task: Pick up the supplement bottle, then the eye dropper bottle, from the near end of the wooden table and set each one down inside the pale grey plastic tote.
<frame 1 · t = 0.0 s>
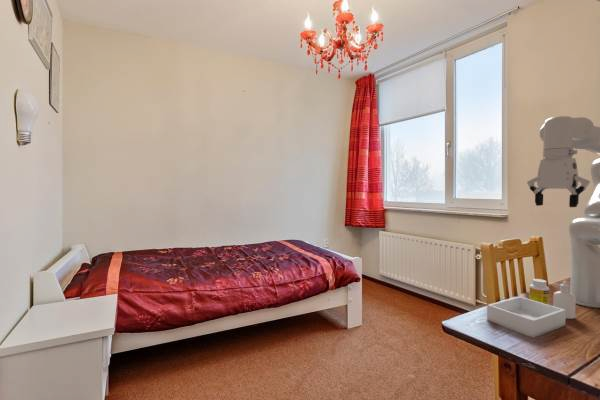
hand: (555, 206, 106), 37 cm above the table, tool pointing down, fingers open, 9 cm apart
tote: (525, 322, 101), on the table
supplement bottle: (538, 309, 112), on the table
eye dropper bottle: (563, 317, 106), on the table
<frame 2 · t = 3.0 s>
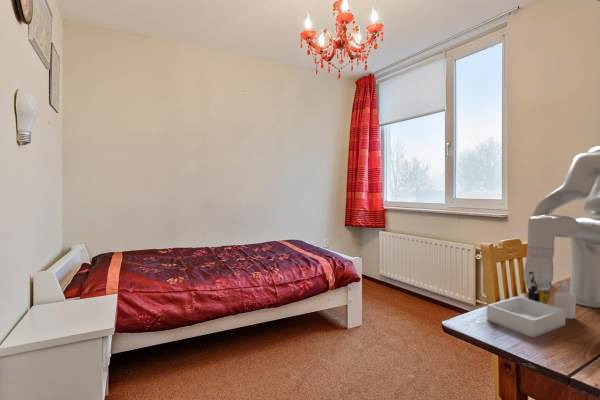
hand: (538, 301, 112), 3 cm above the table, tool pointing down, fingers closed on supplement bottle, 5 cm apart
supplement bottle: (538, 309, 112), on the table, touching gripper
everything else where it was.
when the fingers open (5 cm above the table, at t = 9.4 s): supplement bottle drops 2 cm, resting on tote.
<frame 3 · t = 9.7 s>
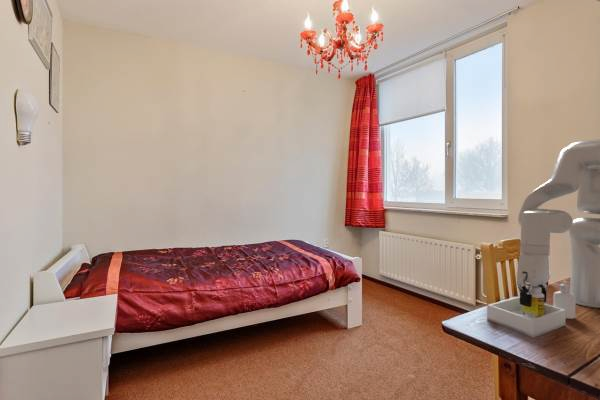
hand: (533, 303, 102), 6 cm above the table, tool pointing down, fingers open, 7 cm apart
supplement bottle: (532, 318, 103), point 1 cm above the table, touching tote
everything else where it was.
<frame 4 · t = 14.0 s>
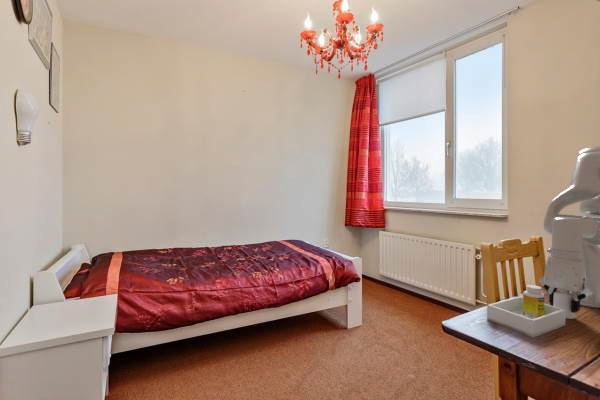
hand: (563, 308, 105), 3 cm above the table, tool pointing down, fingers closed on eye dropper bottle, 5 cm apart
eye dropper bottle: (563, 317, 105), on the table, touching gripper
everything else where it was.
when the fingers open (5 cm above the table, at t = 21.2 s): eye dropper bottle drops 2 cm, resting on tote.
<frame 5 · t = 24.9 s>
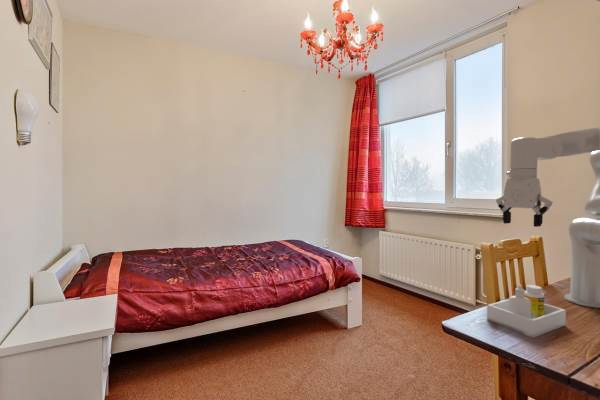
hand: (521, 224, 108), 30 cm above the table, tool pointing down, fingers open, 9 cm apart
eye dropper bottle: (518, 323, 99), point 1 cm above the table, touching tote
everything else where it was.
at the end: supplement bottle inside the target area on the tote (4.3 cm from its centre), point 0.6 cm above the tote's base; eye dropper bottle inside the target area on the tote (3.8 cm from its centre), point 0.6 cm above the tote's base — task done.
